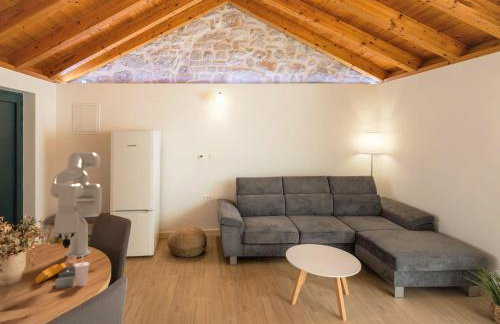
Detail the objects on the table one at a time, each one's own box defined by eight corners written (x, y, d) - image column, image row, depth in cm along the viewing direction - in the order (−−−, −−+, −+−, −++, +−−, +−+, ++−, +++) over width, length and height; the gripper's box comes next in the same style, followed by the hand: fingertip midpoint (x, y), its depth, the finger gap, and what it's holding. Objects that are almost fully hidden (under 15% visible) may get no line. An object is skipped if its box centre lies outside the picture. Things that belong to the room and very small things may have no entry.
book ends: (59, 275, 153) (60, 267, 153) (75, 273, 156) (75, 265, 156) (55, 288, 138) (55, 280, 138) (73, 286, 141) (73, 277, 141)
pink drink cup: (78, 288, 139) (78, 258, 138) (71, 285, 142) (71, 255, 142) (92, 283, 144) (92, 254, 144) (84, 280, 148) (84, 252, 147)
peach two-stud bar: (68, 265, 168) (68, 255, 167) (76, 264, 169) (76, 254, 169) (63, 273, 156) (63, 262, 156) (72, 272, 158) (72, 262, 158)
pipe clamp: (53, 267, 155) (61, 259, 154) (58, 274, 155) (66, 266, 154) (32, 276, 144) (40, 268, 143) (37, 283, 143) (45, 275, 142)
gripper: (84, 207, 155) (84, 243, 154) (50, 209, 148) (49, 247, 148) (84, 209, 148) (83, 247, 148) (47, 211, 141) (46, 251, 141)
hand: (66, 247), depth 148 cm, fingers closed
